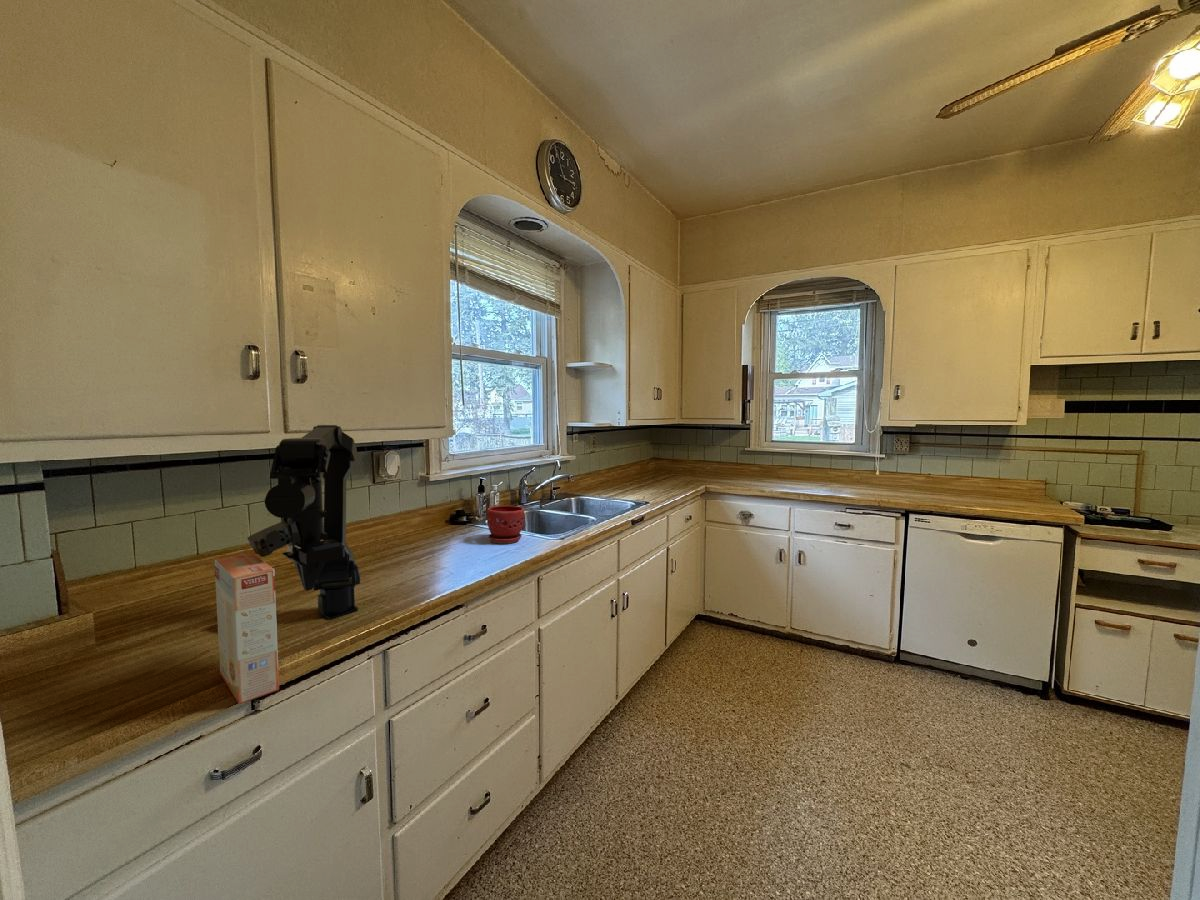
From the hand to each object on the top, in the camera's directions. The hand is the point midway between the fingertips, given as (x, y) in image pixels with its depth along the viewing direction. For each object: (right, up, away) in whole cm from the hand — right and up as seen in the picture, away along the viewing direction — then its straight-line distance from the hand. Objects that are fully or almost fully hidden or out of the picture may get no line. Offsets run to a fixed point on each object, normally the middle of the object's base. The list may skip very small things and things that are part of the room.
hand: (308, 589), depth 88 cm
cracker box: (-6, -14, -7) cm, 17 cm away
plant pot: (+20, -7, +82) cm, 85 cm away
